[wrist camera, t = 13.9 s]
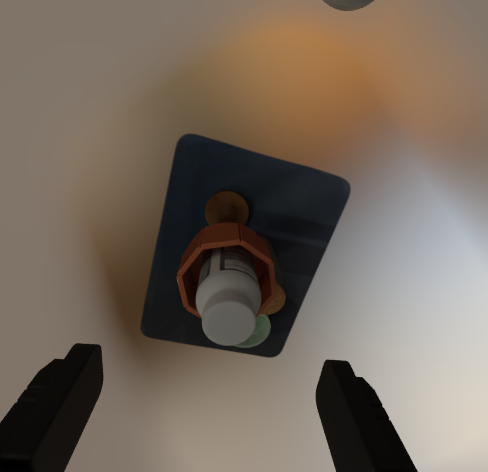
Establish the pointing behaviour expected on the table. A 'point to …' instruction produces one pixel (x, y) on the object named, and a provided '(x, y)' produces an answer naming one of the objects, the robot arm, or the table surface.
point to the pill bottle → (228, 294)
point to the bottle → (280, 296)
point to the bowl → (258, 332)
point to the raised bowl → (225, 237)
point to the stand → (226, 208)
